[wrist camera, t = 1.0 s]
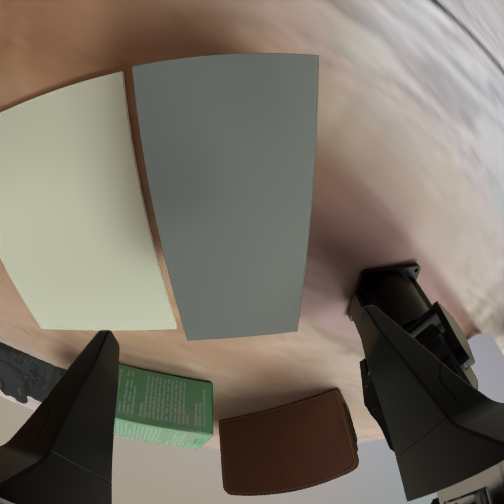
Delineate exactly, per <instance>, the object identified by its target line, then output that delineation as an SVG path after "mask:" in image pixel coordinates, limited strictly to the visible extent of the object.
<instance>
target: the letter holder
mask: <svg viewBox="0 0 504 504" xmlns="http://www.w3.org/2000/svg"><path fill="white" fill-rule="evenodd" d="M219 434H220V451H221V465H222V479H223V488H224V490H225V491H226V492H227V493H228V494H230V495H242V496H254V495H270V494H279V493H286V492H292V491H297V490H302V489H306V488H309V487H313V486H316V485H319V484H322V483H325V482H328V481H330V480H333V479H335V478H338V477H340V476H343V475H345V474H348V473H350V472H351V471H353V470H355V469H356V468H357V467H358V464H359V459H358V454H357V451H358V447H357V436H356V433H355V429H354V426H353V422H352V419H351V415H350V411H349V408H348V406H347V404H346V402H345V400H344V398H343V396H342V394H341V392H340V390H339V389H338V388H336V389H333V390H330V391H328V392H325V393H322V394H319V395H316V396H313V397H310V398H306V399H303V400H300V401H297V402H293V403H290V404H287V405H283V406H279V407H275V408H272V409H268V410H264V411H260V412H256V413H252V414H248V415H243V416H239V417H234V418H230V419H225V420H220V421H219Z"/></svg>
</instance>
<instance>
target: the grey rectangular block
mask: <svg viewBox="0 0 504 504" xmlns="http://www.w3.org/2000/svg"><path fill="white" fill-rule="evenodd" d="M132 71H133V81H134V90H135V99H136V107H137V115H138V122H139V129H140V136H141V143H142V149H143V155H144V161H145V167H146V172H147V178H148V183H149V188H150V194H151V199H152V204H153V209H154V213H155V218H156V223H157V227H158V232H159V236H160V240H161V245H162V249H163V253H164V257H165V261H166V265H167V269H168V273H169V277H170V281H171V285H172V289H173V292H174V296H175V300H176V303H177V307H178V310H179V314H180V317H181V321H182V324H183V327H184V331H185V334H186V337H187V340H206V339H221V338H235V337H247V336H258V335H268V334H278V333H287V332H296V331H298V324H299V317H300V309H301V301H302V293H303V285H304V277H305V268H306V259H307V249H308V240H309V229H310V218H311V207H312V195H313V181H314V167H315V151H316V132H317V108H318V71H319V55H307V54H287V53H242V54H222V55H209V56H198V57H189V58H181V59H173V60H166V61H160V62H154V63H148V64H143V65H138V66H133V67H132Z"/></svg>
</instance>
